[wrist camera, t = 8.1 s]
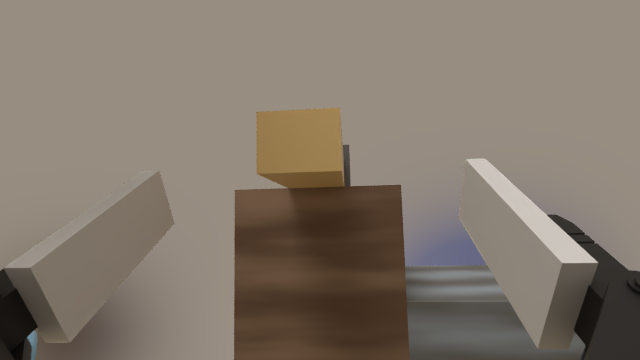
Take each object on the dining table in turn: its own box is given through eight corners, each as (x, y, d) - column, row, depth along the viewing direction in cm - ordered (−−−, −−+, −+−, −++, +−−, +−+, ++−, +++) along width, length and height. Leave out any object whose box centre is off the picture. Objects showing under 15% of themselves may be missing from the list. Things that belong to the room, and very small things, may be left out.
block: (352, 170, 15) (349, 86, 16) (246, 174, 16) (246, 92, 16) (350, 194, 33) (348, 155, 34) (300, 196, 34) (299, 157, 34)
